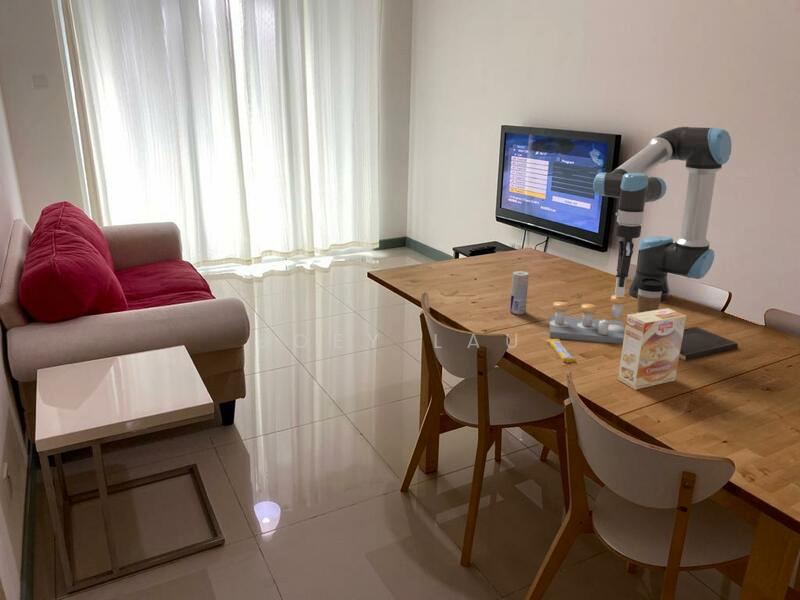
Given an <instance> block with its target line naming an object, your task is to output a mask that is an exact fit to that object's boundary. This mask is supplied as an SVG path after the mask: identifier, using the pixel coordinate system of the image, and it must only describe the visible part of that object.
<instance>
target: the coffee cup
mask: <svg viewBox="0 0 800 600" xmlns="http://www.w3.org/2000/svg"><path fill="white" fill-rule="evenodd" d="M637 287H638V288H639V289H638V297H636V298H637V300H636V305H637V306H636V313H641V312H647V311H654V310H659V308H660V303H661V301H662V300H661V293H662V291H663V290H664V289H663V282H662V281H661V280H659V279H655V278H643V279H641V280H640V282H639V284H638V286H637Z"/></svg>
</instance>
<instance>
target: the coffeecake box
mask: <svg viewBox="0 0 800 600" xmlns="http://www.w3.org/2000/svg"><path fill="white" fill-rule="evenodd" d="M686 319H687V315H686V314H683V313H681V312H678V311H677V310H674V309H671V308H668V307H667V308H661V309H658V310H654V311H647V312H641V313H637V312H636V313H630V314H626V321H625V326H624V328H625V334H624V340H623V344H622V348H621V354H620V363H619V369H618V376H617V380H618V381H620V382H621V383H624V384H625V385H627V386H628V387H629V388H631V389H632V390H635V391H636V390H640V389H644V388H645V389H646V388H648V387H653V386H657V385H661V384H666V383H669V382H675V381H676V376H677V371H678V364H679V361H680V358H679V355H680V350H681V344H682V338H683V333H684V329H685V326H686V321H687V320H686Z"/></svg>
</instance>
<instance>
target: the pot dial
mask: <svg viewBox="0 0 800 600" xmlns="http://www.w3.org/2000/svg"><path fill="white" fill-rule="evenodd" d="M605 320H606V319H601V320H600V321H599V327H598V334H601V335H607V334H608V327H609V322H608V321H605Z"/></svg>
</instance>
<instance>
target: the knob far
mask: <svg viewBox="0 0 800 600" xmlns="http://www.w3.org/2000/svg"><path fill="white" fill-rule="evenodd" d="M569 307H570V304H569V303H568V302H565V301H554V302H553V303H552V309H553V310H555V311H554V312H555V313H554V316H555V321H554V322H555V323H556V324H564V320H565V317H566V311H567V312H568V311H569Z"/></svg>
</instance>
